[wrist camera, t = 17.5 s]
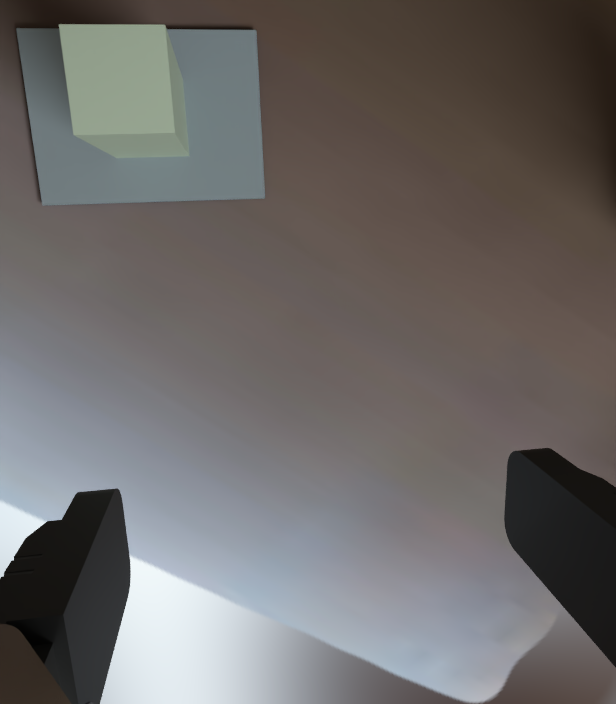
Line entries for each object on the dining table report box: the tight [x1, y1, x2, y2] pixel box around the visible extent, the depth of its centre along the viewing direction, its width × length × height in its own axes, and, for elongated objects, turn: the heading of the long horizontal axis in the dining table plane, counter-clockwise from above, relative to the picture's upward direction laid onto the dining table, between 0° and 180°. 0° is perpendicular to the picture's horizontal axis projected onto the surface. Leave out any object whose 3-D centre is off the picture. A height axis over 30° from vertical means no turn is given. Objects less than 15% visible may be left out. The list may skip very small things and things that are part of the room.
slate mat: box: [16, 28, 265, 205], centre depth 34 cm, size 14×10×1 cm
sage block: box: [59, 24, 189, 158], centre depth 29 cm, size 4×4×10 cm
